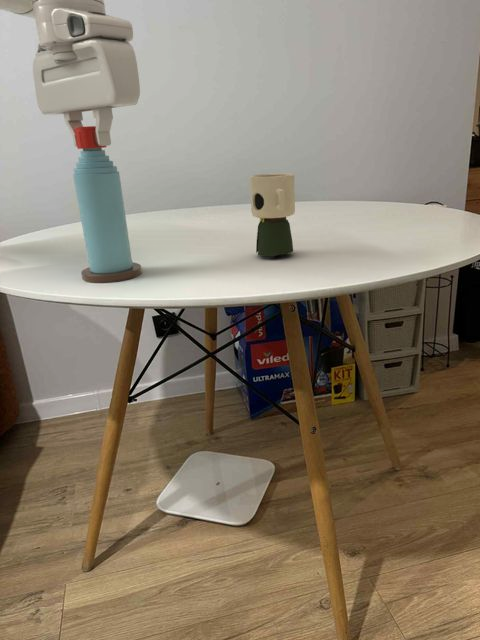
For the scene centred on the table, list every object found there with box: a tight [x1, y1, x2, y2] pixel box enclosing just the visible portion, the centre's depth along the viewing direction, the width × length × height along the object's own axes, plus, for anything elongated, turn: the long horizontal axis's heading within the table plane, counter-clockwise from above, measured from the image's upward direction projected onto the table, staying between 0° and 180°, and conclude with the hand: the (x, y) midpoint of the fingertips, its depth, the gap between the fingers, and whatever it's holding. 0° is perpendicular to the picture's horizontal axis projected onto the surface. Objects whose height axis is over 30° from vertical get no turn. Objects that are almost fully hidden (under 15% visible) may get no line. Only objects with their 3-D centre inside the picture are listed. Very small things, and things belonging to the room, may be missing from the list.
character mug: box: [249, 172, 296, 258], centre depth 82 cm, size 11×7×13 cm, turn 15°
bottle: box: [72, 148, 133, 273], centre depth 74 cm, size 6×6×20 cm
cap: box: [74, 125, 107, 150], centre depth 70 cm, size 4×4×3 cm
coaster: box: [80, 261, 143, 284], centre depth 78 cm, size 9×9×1 cm
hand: (93, 146), depth 71 cm, fingers closed on cap, 4 cm apart
